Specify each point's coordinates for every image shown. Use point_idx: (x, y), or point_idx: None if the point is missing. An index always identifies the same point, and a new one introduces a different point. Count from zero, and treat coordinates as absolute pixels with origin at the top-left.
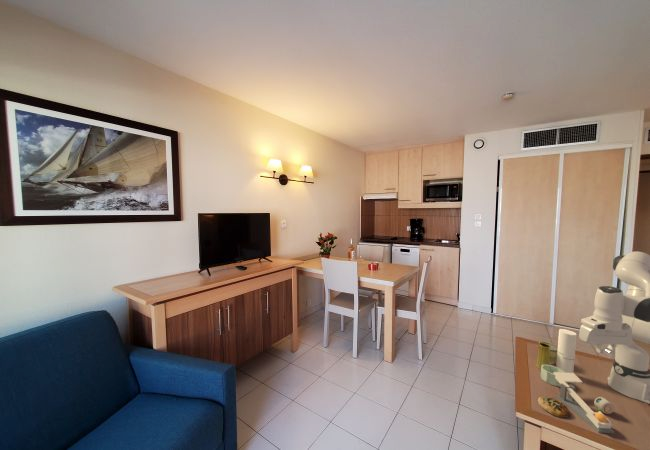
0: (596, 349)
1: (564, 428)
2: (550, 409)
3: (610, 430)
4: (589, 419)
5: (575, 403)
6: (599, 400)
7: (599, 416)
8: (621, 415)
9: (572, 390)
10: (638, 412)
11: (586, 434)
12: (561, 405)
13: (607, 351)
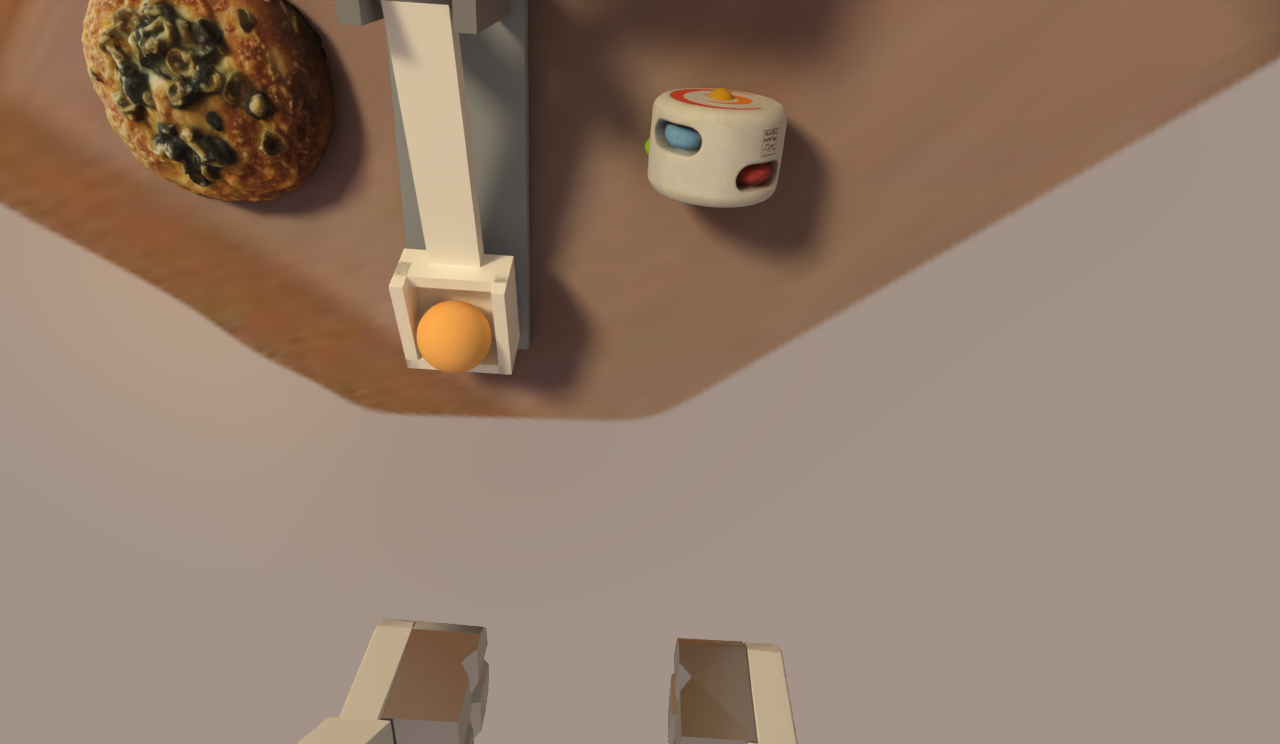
0: (363, 665)
1: (175, 294)
2: (133, 150)
3: None
4: None
5: (490, 50)
6: (680, 140)
7: (423, 354)
8: (826, 184)
9: (441, 34)
10: (1050, 153)
11: (308, 344)
12: (239, 147)
13: (678, 688)
